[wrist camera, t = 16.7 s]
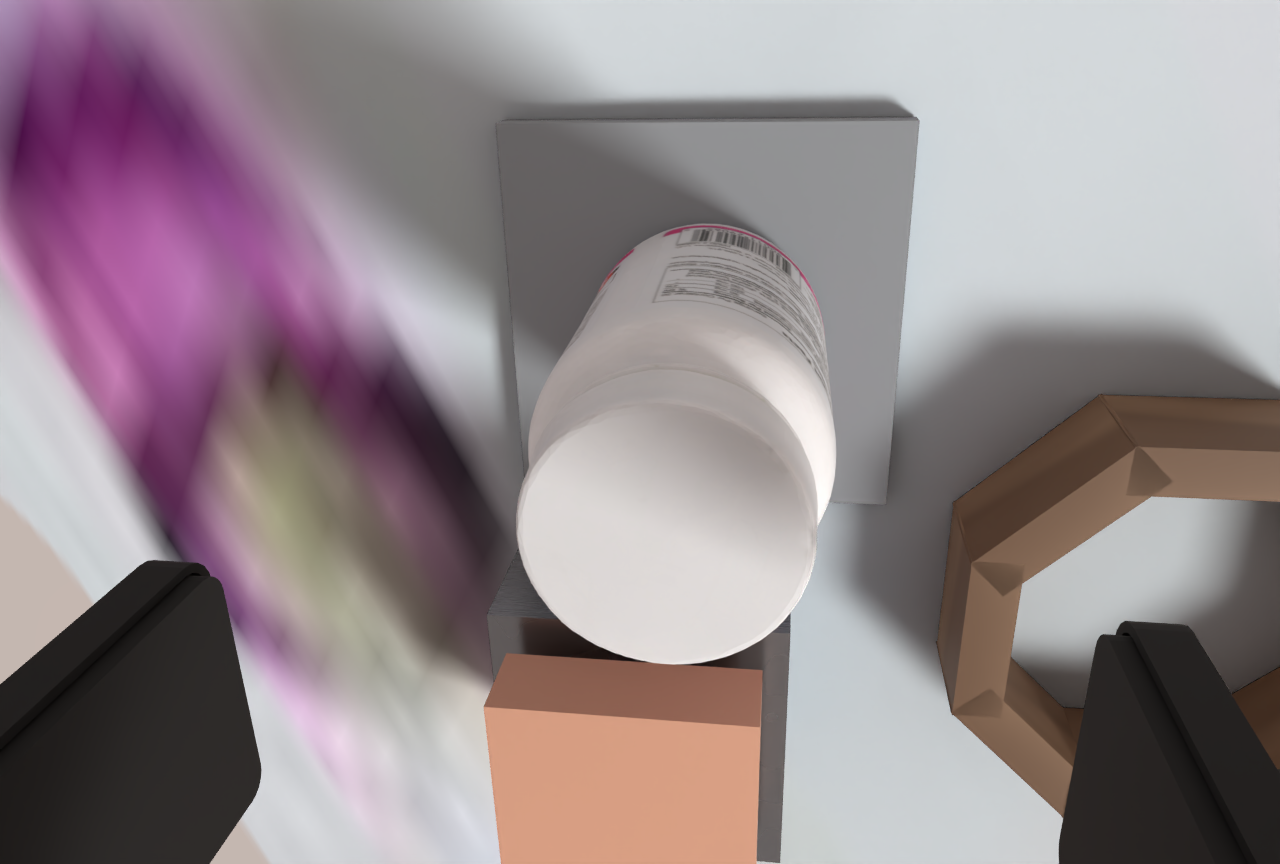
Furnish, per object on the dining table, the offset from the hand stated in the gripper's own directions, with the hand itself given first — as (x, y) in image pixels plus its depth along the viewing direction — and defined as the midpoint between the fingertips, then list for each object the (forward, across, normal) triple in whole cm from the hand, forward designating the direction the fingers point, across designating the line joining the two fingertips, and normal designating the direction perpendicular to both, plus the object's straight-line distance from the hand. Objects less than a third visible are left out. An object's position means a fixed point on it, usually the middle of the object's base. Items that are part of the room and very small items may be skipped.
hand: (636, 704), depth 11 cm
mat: (+12, 0, -1) cm, 12 cm away
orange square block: (+11, +1, +7) cm, 13 cm away
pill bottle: (+11, 0, -1) cm, 11 cm away
